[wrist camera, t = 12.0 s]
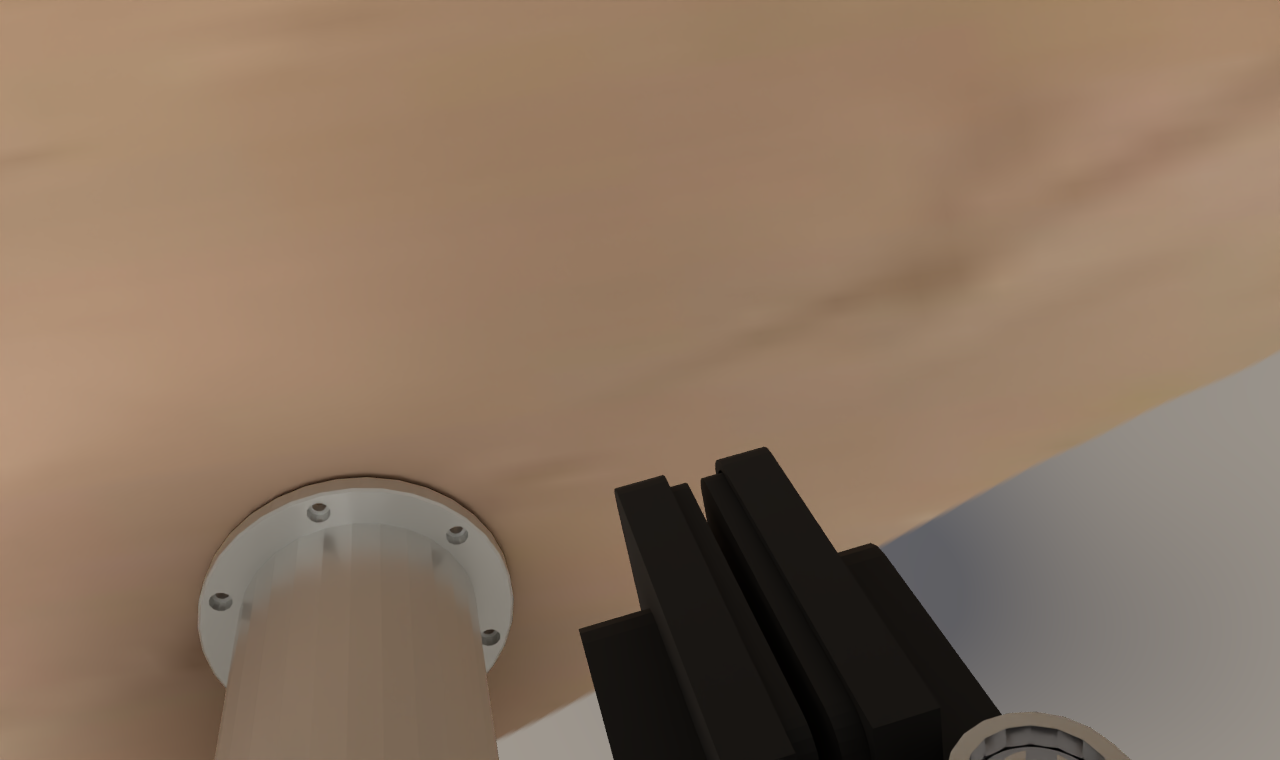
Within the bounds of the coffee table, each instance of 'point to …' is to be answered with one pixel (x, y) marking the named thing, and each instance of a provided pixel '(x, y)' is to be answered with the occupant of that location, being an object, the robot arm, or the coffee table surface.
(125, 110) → the coffee table surface
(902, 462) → the coffee table surface
